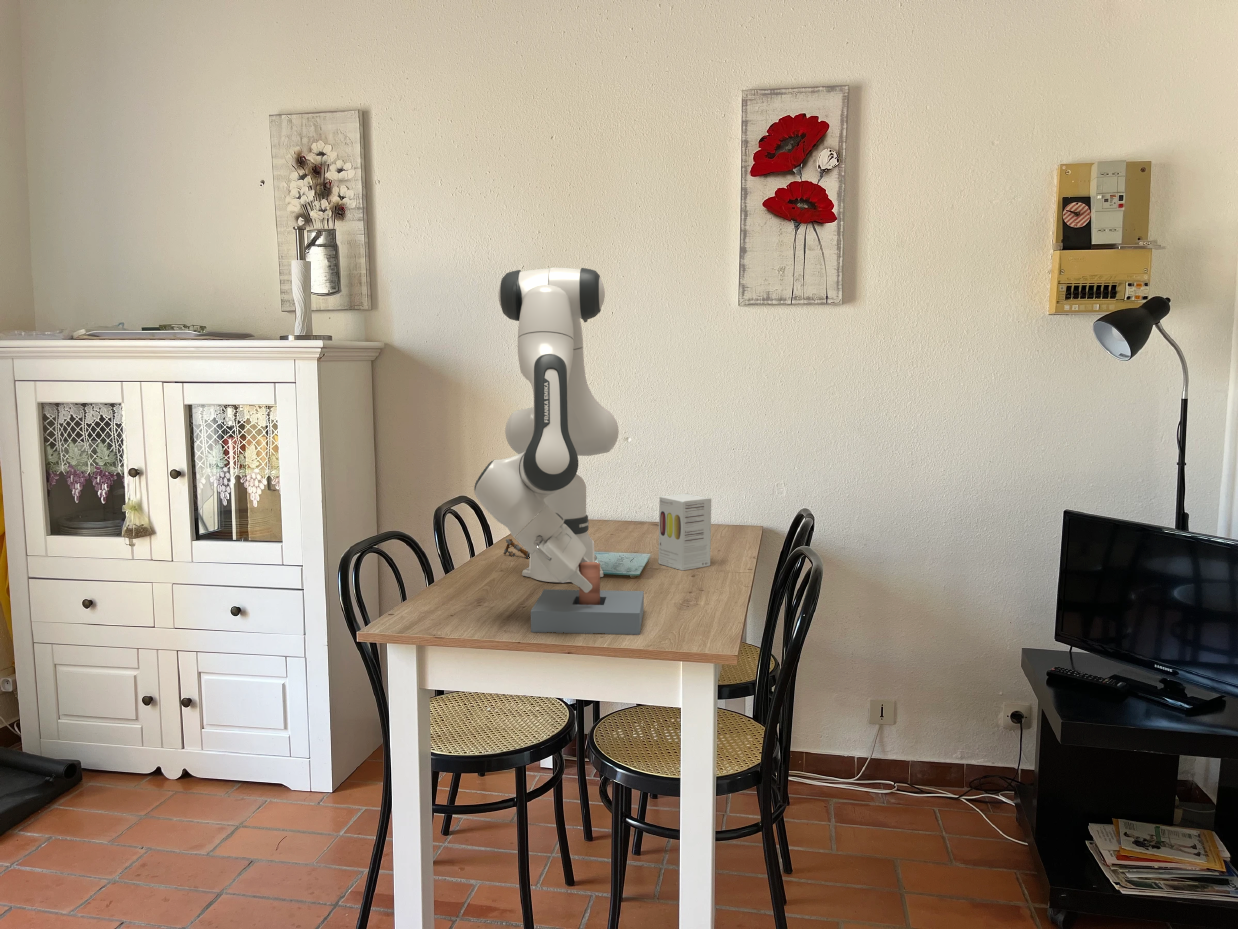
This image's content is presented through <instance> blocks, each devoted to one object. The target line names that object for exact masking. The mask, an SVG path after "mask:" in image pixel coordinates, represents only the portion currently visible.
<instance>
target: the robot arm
mask: <svg viewBox="0 0 1238 929" xmlns="http://www.w3.org/2000/svg"><path fill="white" fill-rule="evenodd" d="M497 293H498V303H499V306H500V308H501V311H502V314H503V315H504V316H506V317H507V318H508V319H510V320H511V321H516V322H518V325H517V326H518V330H517V357H518V358H517V359H518V365H519V369H520V374H522V376H523V377H524V379H526V380H527V381H528V382H529V383H530V385H531V388H532V395H533V407H528V408H521V409H517V410H514V411H513V412H512V413H511V415H509V417H508V418H507V421H506V424H505V430H504V434H505V439H506V442H507V444H508V445H509V446H510V448H511V450H513V452H515V453H516V455H513V456H509V457H506V458H501V459H493V460H491V461H490V462H489V463H487V465H486V466H485V468H484V469H483V471H482V472H481V473H480V474H479V476H478V478H477V480H476V481H475V483H474V488H473V490H474V491H473V492H474V495H475V497H476V498H477V500H478V501H479V503H480V504H481V506H483V508H484V509H485V510H486V511H487V512H488V514H490V515H491V516H492V517H493V518H494V519H495V520H496V521H497V522H498V523H500V524H501V525H503V526H504V527H506V528H507V530H508V531H509V532H510V534H511V536H512V538H514V539H515V540H516V541H517V542H518V543H519V544H520V546H521V547H523V549H524V550H526V551H528V552H529V553H530V558H529V563H528V564H529V567H527V568H525V569H523V570H522V572H521V575H522V576H523V577H529V578H532V579H534V580H538V581H541V582H549V583H562V584H565V583H572V584H573V585H575V586H577V587H578V588H579V587H580V588H581V589H582V590H583V591H584V592H586V593H587V592H589V591H590V590H591V589H592V587H593V584H592V583H591V582H590V581H589V580H588V579H586V578H584V577H583V576H582V575H581V574H580V572H579V564H580V563H583V562H595V561H596V560H598V559H597V558H598V557H597V554H595V541H594V540H593V538H592V537H591V536H590V534H589V528H590V527H589V526H590V520H589V515H588V514H587V485H586V482H585V480H584V479H583V478H582V476H580V475H579V474H577V473H578V469H579V457H581V456H582V457H584V456H585V457H590V456H597V455H602V454H607V453H609V452H610V451H612V450H613V449H614V447H615V445H616V444H617V441H618V438H619V425H618V422H617V419H616V418H615V415H613V413H611V412H610V411H609V410H608V409H606V408H605V407H604V406H603V405H602V404H600V402H599V401H598V400H597V399H596V397H595V396H594V395H593V393H592V391H591V390H590V387H589V384H588V382H587V381H588V380H587V377H586V370H585V357H584V336H583V329H582V321H583V323H587V322H588V320H590V319H593V318H595V317H597V316H598V315H599V314H600V313H601V311H602V307H603V305H604V302H605V298H606V296H605V295H606V291H605V286H604V283H603V280H602V279H601V275H600V274H599V273H598V272H597V270H594V269H591V268H586V267H581V268H574V267H560V266H559V267H558V266H556V267H555V266H553V267H552V266H551V267H550V268H549V267H548V268H535V269H528V270H521V269H518V270H512V271H509V272H507V273H506V272H505V275H504V276H503V277H502V278H501V281H500V285H499V288H498V292H497ZM581 320H582V321H581ZM598 563H600V562H599V561H598ZM603 577H604V571H603V569H602V566H600V578H603Z"/></svg>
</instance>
